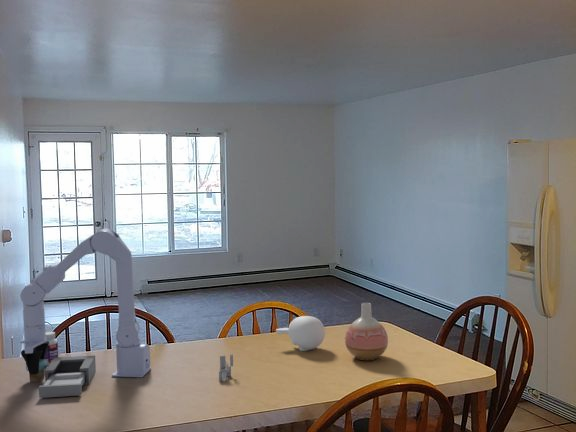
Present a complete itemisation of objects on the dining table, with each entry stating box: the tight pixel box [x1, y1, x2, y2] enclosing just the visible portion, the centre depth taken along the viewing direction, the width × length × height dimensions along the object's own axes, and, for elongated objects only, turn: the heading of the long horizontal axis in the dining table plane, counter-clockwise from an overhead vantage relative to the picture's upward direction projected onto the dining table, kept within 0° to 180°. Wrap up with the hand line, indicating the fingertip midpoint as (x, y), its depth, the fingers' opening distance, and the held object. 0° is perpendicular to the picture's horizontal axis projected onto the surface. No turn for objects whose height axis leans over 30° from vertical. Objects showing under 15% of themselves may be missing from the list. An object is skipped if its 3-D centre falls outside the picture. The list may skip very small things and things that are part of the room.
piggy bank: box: [275, 315, 326, 352], centre depth 206 cm, size 12×12×15 cm
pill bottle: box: [44, 331, 59, 366], centre depth 194 cm, size 5×5×10 cm
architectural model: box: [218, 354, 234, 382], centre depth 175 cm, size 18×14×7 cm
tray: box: [38, 372, 86, 399], centre depth 170 cm, size 11×12×3 cm
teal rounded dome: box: [25, 359, 48, 372], centre depth 179 cm, size 6×6×2 cm
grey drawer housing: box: [44, 355, 97, 386], centre depth 179 cm, size 12×12×5 cm
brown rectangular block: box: [29, 369, 45, 383], centre depth 179 cm, size 3×3×4 cm
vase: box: [344, 302, 389, 362], centre depth 195 cm, size 14×14×18 cm
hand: (36, 370), depth 179 cm, fingers closed on teal rounded dome, 6 cm apart
